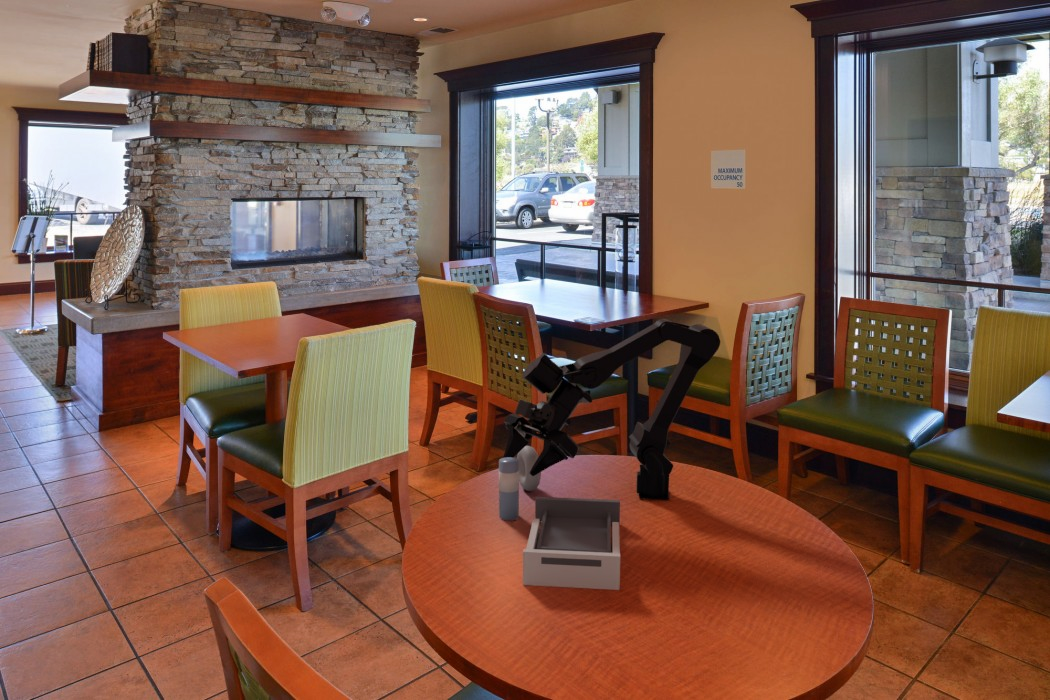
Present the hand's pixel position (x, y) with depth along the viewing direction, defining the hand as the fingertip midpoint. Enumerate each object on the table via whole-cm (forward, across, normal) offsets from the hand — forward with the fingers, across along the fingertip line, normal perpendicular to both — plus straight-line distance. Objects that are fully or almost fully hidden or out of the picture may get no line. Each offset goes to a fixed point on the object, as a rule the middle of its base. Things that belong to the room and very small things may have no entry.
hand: (517, 468), depth 161 cm
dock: (+10, +23, +4) cm, 25 cm away
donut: (0, -9, +14) cm, 17 cm away
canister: (+8, 0, +5) cm, 10 cm away
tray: (+7, +18, +7) cm, 20 cm away
